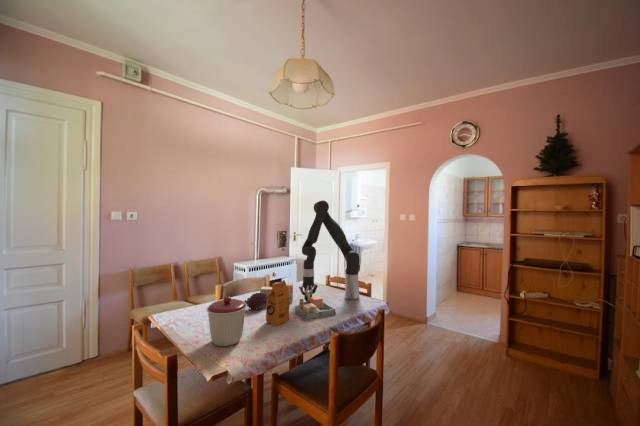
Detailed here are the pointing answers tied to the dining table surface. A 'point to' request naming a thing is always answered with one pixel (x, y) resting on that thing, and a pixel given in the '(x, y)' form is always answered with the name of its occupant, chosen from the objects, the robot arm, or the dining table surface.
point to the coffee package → (278, 304)
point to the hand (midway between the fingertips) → (308, 300)
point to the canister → (226, 321)
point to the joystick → (315, 300)
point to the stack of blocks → (268, 289)
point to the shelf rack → (317, 314)
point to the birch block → (307, 307)
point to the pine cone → (256, 300)
